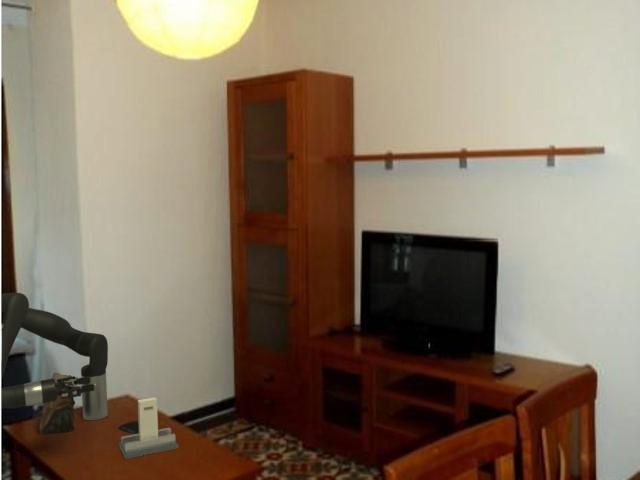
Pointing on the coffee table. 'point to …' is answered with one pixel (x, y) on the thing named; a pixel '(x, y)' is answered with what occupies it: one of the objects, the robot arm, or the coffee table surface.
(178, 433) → the coffee table surface
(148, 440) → the floor track
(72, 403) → the owl
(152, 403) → the door leaf
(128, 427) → the phone
